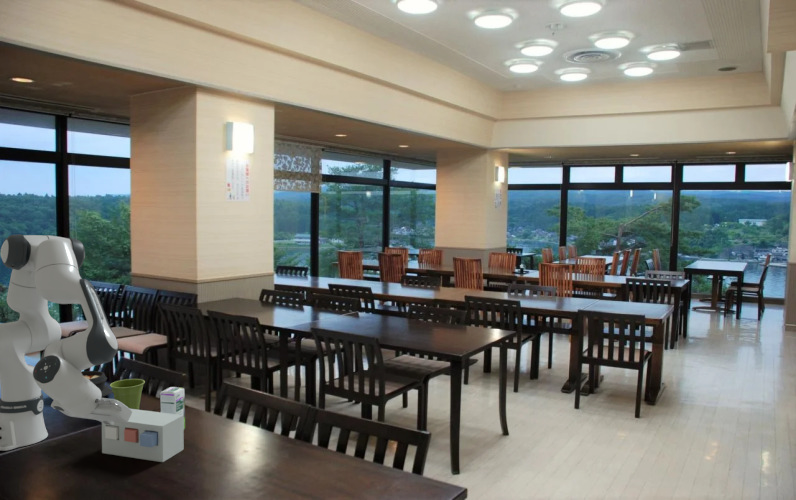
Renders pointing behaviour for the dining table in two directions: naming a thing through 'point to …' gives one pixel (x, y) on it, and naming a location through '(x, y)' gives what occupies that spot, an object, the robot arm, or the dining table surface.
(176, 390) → the syrup box
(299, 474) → the dining table surface
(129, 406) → the plant pot
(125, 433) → the red key
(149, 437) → the blue key
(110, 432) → the white key
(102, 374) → the casserole
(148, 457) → the key console
